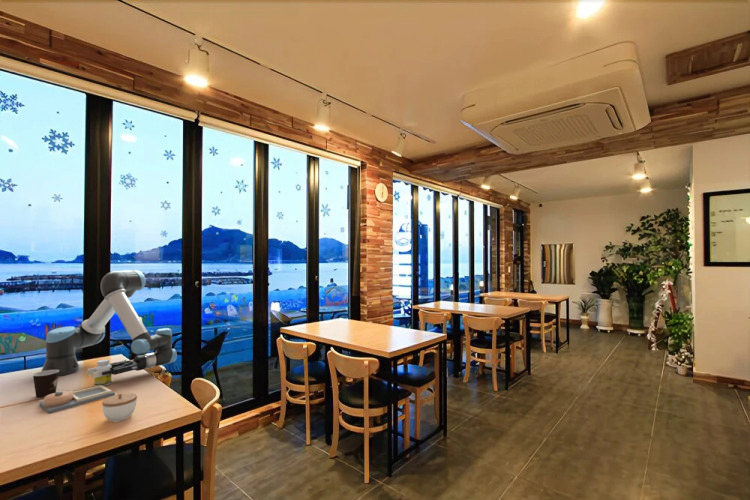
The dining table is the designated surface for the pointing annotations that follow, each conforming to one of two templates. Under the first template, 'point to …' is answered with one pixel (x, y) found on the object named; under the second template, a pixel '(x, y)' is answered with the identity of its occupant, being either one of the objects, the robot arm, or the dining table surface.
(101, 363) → the pill bottle
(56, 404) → the board
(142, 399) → the dining table surface
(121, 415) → the lidded jar
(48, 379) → the dark brown tapered cup
